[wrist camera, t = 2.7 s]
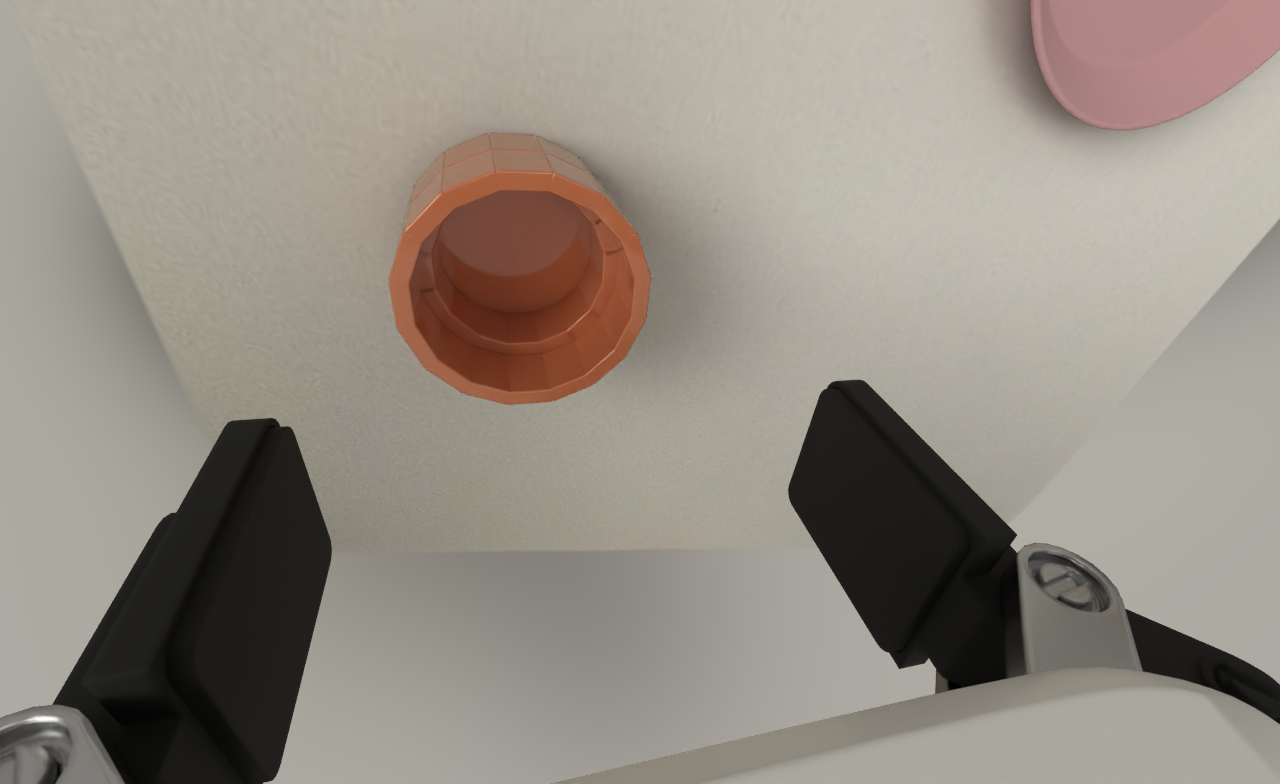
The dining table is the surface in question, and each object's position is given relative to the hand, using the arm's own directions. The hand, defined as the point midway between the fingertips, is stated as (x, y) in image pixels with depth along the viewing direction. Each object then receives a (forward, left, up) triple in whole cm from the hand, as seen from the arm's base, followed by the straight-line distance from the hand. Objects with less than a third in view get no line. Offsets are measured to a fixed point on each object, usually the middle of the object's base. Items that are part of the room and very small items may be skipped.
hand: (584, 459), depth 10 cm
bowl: (0, 0, -12) cm, 12 cm away
